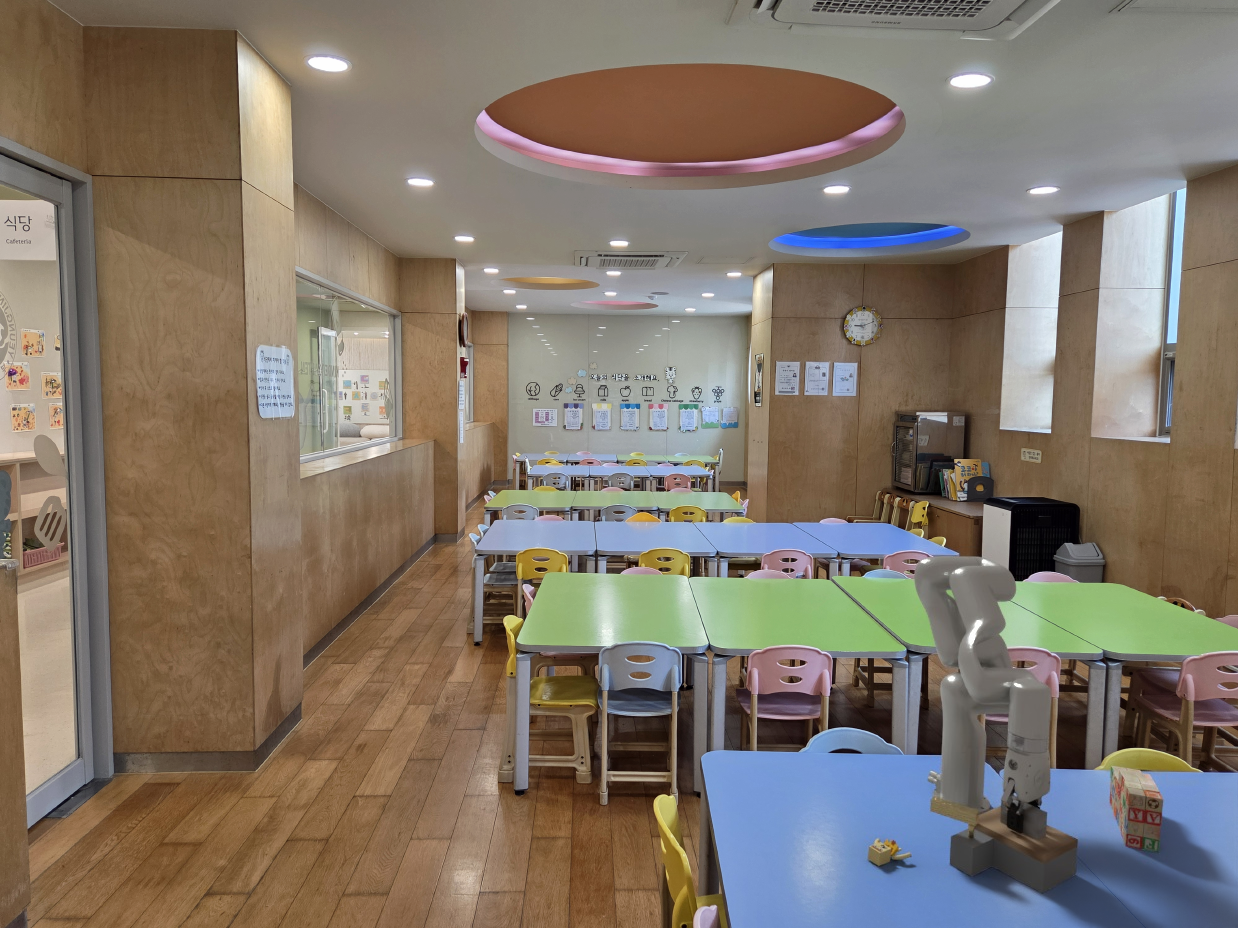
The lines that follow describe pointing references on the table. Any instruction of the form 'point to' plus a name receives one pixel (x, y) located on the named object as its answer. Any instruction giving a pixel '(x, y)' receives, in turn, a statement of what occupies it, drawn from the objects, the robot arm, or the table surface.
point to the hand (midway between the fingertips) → (1022, 825)
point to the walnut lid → (1027, 833)
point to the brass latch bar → (956, 813)
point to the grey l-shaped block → (1009, 861)
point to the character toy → (885, 852)
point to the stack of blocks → (1136, 808)
